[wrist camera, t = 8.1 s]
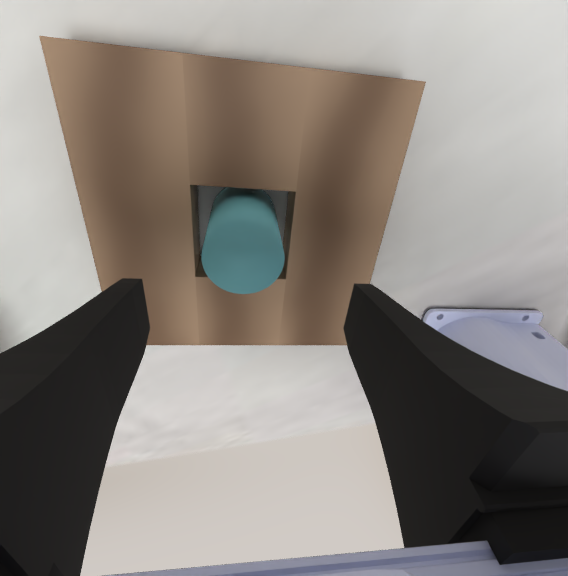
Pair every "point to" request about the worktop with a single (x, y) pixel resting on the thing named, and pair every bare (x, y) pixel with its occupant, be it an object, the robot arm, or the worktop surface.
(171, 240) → the walnut collar plate
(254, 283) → the teal peg
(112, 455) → the worktop surface
